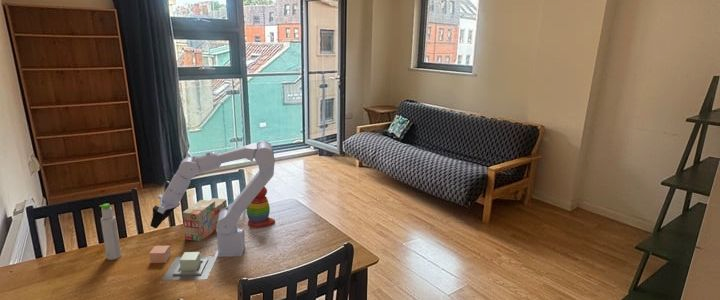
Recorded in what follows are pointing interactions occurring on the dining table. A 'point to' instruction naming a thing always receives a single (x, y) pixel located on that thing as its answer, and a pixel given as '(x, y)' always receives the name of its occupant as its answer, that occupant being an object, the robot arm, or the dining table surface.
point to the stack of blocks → (202, 218)
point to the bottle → (110, 233)
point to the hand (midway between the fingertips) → (157, 222)
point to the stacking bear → (259, 211)
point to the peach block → (159, 254)
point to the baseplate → (200, 274)
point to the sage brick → (190, 261)
